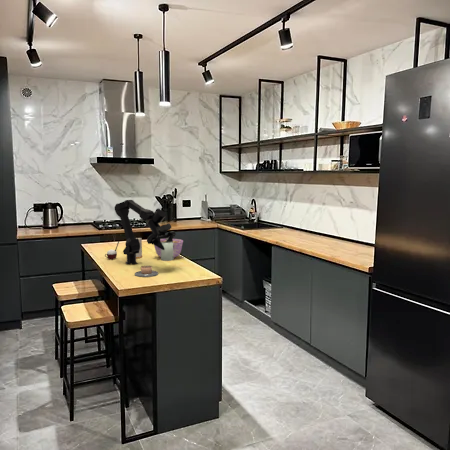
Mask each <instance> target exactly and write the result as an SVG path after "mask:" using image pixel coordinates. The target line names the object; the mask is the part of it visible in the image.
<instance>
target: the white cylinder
mask: <svg viewBox="0 0 450 450" xmlns="http://www.w3.org/2000/svg"><path fill="white" fill-rule="evenodd" d="M161 243H162V245H163V246H164V250H162V249H161V257H160V261H162V262H171V261H174V258H173V242H161Z"/></svg>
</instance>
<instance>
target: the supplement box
mask: <svg viewBox="0 0 450 450" xmlns="http://www.w3.org/2000/svg"><path fill="white" fill-rule="evenodd" d="M135 238H136V239H139V243H140V250H139V253H136V259H141V258H143V242H142V241H143V240H142V237H135Z"/></svg>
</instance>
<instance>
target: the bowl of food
mask: <svg viewBox="0 0 450 450" xmlns="http://www.w3.org/2000/svg"><path fill="white" fill-rule="evenodd" d="M160 241H161V242H166V241H167V240H166V239H160ZM183 243H184V240H183V239H180V238H173V245H174V248H173V259H175V258H176V257H179V255H180V254H181V252H182V249H183ZM153 246H154V250H155V253H156V255H157V256H158V257H160V258H161V248H159V247H157V246H155V245H153Z"/></svg>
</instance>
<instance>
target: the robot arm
mask: <svg viewBox="0 0 450 450" xmlns="http://www.w3.org/2000/svg"><path fill="white" fill-rule="evenodd" d="M130 210H132V211H133V212H135V213H136V214H138V216H139V218H140V219H141V220H142V221H143V222H145V221H146V224H145V227H146V228H149V229H150V231H151V234H150V235H149V236H148V237H147V239H146V243H147V245H153V246H154V245H155V246H157V247H159V248H161V249H162V250H164V246H163V245H162V243H161V241H160V239H166V240H167V241H166V242H173V239H175V237H176V236H177V233H176V231H170V230H171V229H172V225H171V224H170V223H166V224H163V225H160V224H161V223H162V222H163V220H164V219H165V218H166V216H167V214H166V212H165V211H164V210H162V209H161V208H156V209H155V211H153V210H151V209H148V208H144V207H143V206H141V205H140V204H138V203H137V202H136V201H134V200H133V199H126V200H124V201H121V202H119V203H116V204H115V206H114V211H115V213H116V216H118V217H119V218H120V222H121V224H122V227H123V228H122V229H123V232H124V236H125V238H126V239H125V240H126V241H125V244H124V245H125V247H124V249H123V251H122V253H123V255H126V261H125V264H126V265H137V264H138V262H137V258H136V253H139V250H140V243H139V239H136V238H137V237H135V236H134V235H135V233H134V232H133V228H132V224H131V221H130V218H129V213H130ZM167 232H168V233H167ZM173 248H174V245H173Z"/></svg>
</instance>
